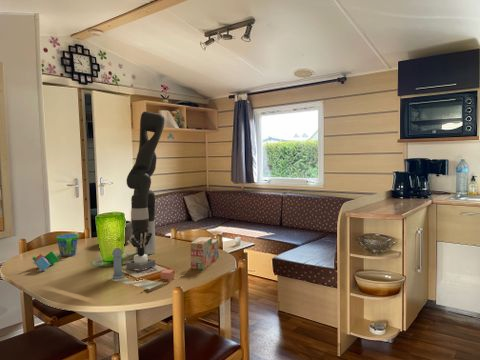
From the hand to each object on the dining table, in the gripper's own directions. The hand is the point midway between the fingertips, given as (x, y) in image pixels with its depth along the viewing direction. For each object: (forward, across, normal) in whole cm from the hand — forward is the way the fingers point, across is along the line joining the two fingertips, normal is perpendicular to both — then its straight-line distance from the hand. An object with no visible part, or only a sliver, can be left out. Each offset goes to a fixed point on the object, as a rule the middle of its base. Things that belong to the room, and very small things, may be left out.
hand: (141, 255), depth 169 cm
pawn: (+5, +15, +2) cm, 16 cm away
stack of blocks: (+7, -23, +19) cm, 31 cm away
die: (+7, +5, +20) cm, 22 cm away
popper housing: (+6, 0, 0) cm, 7 cm away
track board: (+7, +15, +11) cm, 20 cm away
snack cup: (+7, 0, -52) cm, 53 cm away
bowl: (+7, -31, -49) cm, 58 cm away
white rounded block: (+5, 0, 0) cm, 5 cm away
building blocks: (+7, +19, -41) cm, 46 cm away
